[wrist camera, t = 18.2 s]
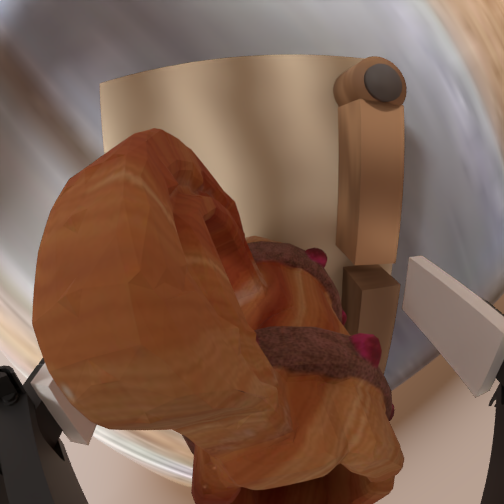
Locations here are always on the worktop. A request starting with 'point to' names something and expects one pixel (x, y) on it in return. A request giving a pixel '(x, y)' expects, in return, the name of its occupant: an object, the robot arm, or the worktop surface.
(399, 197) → the leg
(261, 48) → the worktop surface
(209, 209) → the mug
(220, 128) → the seat
